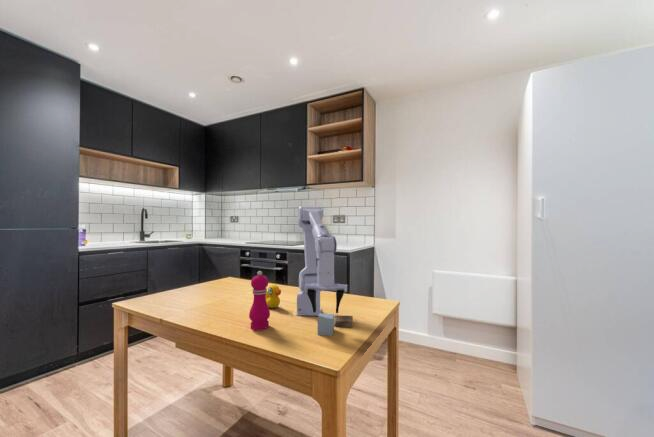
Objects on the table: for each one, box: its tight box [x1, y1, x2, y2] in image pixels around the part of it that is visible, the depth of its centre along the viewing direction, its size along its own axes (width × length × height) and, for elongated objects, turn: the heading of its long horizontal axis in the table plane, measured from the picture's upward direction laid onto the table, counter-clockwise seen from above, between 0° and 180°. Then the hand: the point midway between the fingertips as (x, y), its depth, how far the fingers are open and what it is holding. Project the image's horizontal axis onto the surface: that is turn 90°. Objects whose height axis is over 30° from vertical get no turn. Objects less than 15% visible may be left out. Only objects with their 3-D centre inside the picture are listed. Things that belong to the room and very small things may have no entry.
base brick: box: [335, 314, 354, 328], centre depth 101 cm, size 6×6×2 cm
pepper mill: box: [248, 270, 271, 331], centre depth 98 cm, size 7×7×20 cm
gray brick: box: [317, 312, 335, 336], centre depth 93 cm, size 5×5×6 cm
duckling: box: [265, 284, 282, 309], centre depth 120 cm, size 11×5×10 cm, turn 44°
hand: (325, 311), depth 93 cm, fingers open, 7 cm apart
